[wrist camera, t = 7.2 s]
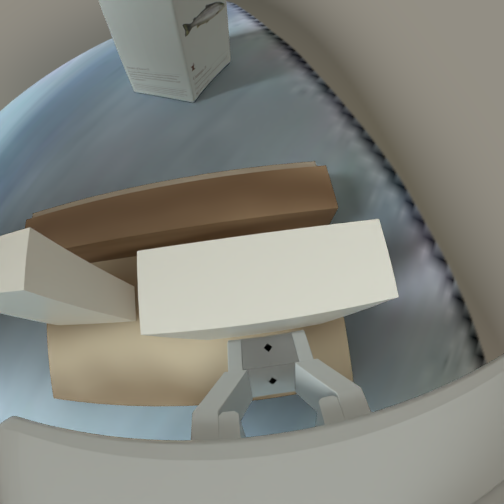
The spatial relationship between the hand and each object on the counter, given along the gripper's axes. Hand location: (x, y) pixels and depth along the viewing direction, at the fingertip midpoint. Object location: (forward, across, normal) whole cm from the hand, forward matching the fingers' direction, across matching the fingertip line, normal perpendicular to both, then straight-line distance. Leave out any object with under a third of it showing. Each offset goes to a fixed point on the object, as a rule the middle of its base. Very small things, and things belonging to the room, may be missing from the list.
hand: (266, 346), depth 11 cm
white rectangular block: (+4, 0, +1) cm, 4 cm away
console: (+6, +5, +2) cm, 8 cm away
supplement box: (+21, +4, -13) cm, 25 cm away
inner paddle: (+5, +10, 0) cm, 11 cm away
